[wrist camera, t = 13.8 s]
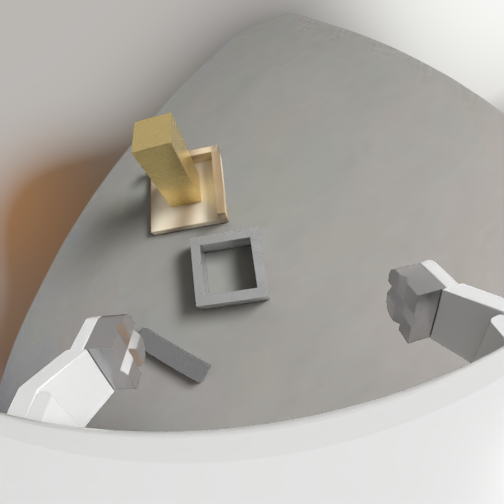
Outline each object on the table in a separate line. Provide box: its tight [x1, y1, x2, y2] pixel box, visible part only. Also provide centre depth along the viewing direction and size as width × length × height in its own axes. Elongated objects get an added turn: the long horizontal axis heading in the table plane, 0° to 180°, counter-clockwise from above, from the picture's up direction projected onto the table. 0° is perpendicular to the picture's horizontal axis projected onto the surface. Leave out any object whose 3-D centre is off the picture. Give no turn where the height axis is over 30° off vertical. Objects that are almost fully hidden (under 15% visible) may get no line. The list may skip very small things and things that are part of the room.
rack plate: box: [151, 145, 229, 235], centre depth 42 cm, size 11×11×3 cm
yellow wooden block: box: [132, 113, 202, 208], centre depth 36 cm, size 4×4×14 cm
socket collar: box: [190, 227, 270, 309], centre depth 38 cm, size 9×9×3 cm
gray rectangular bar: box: [140, 328, 211, 383], centre depth 37 cm, size 10×2×2 cm, turn 64°
